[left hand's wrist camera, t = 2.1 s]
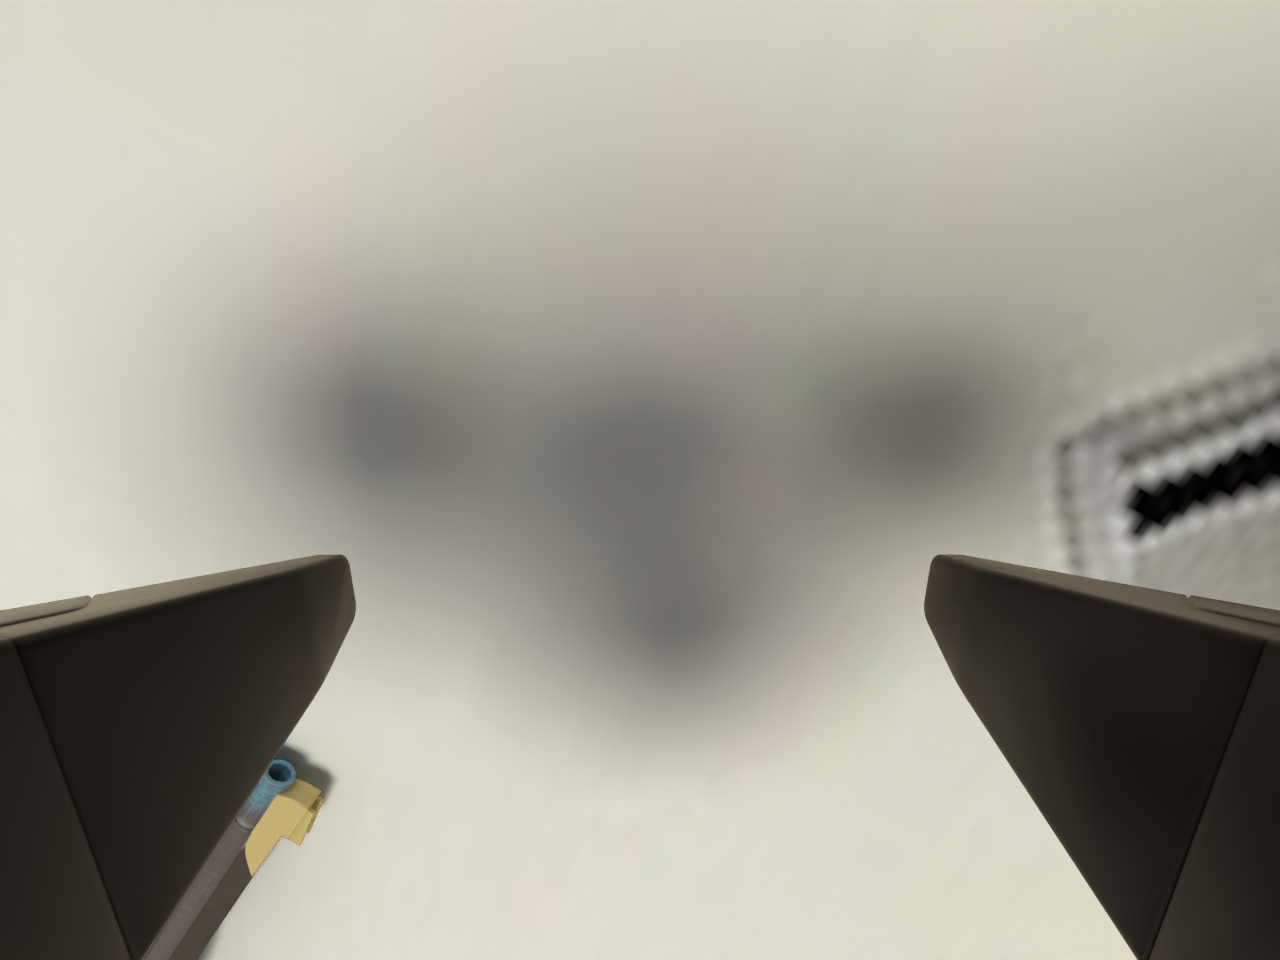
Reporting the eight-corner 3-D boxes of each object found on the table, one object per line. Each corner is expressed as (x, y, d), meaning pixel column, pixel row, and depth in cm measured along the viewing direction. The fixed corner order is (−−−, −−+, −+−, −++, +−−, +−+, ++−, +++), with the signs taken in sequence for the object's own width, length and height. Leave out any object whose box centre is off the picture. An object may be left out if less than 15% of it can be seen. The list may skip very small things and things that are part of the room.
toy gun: (-224, 1064, 24) (48, 1207, 25) (-13, 639, 20) (308, 833, 21) (-135, 988, 27) (108, 1121, 28) (69, 598, 22) (350, 772, 23)
